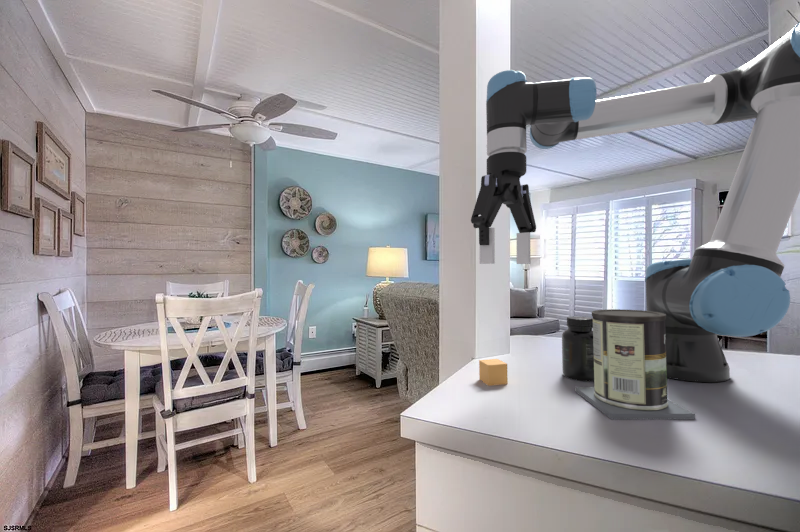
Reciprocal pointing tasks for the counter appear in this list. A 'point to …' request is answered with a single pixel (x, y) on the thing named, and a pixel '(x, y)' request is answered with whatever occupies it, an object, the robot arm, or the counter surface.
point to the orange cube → (493, 372)
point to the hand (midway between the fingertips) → (506, 264)
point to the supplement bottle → (578, 349)
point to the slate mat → (623, 413)
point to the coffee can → (630, 358)
